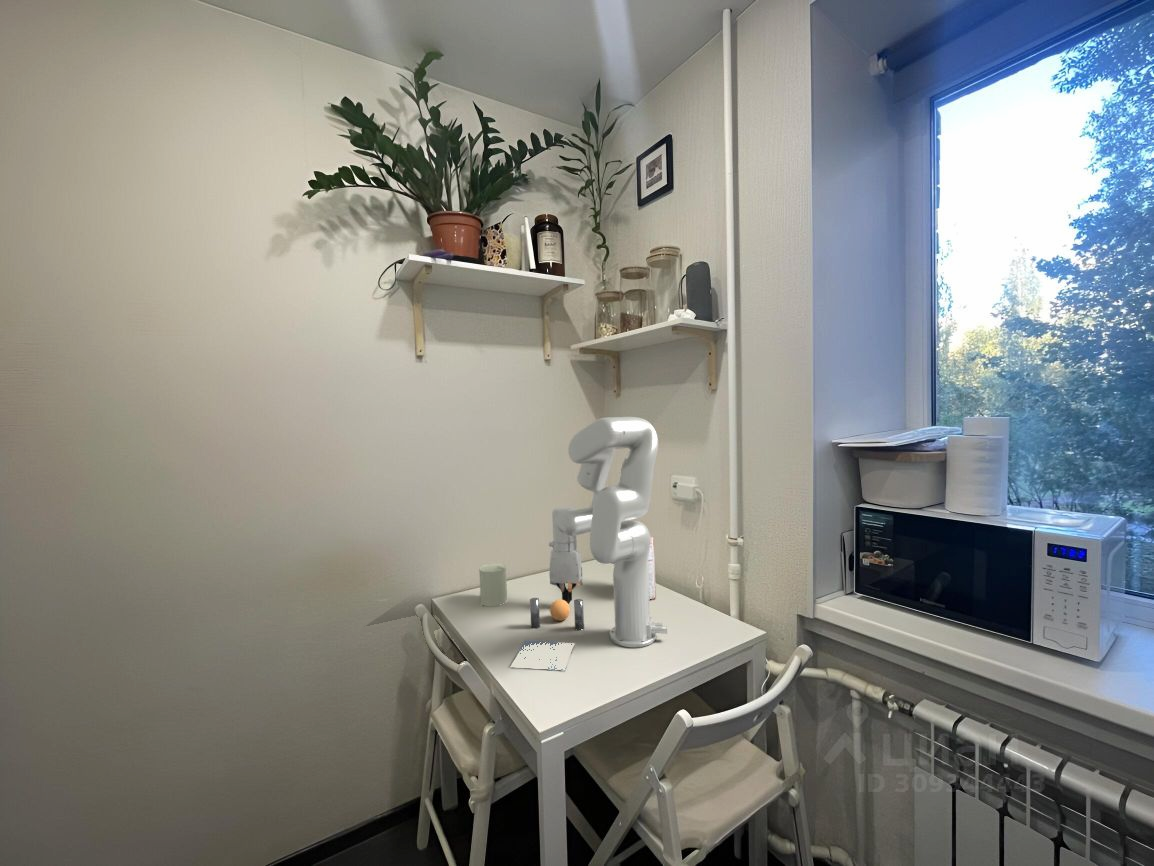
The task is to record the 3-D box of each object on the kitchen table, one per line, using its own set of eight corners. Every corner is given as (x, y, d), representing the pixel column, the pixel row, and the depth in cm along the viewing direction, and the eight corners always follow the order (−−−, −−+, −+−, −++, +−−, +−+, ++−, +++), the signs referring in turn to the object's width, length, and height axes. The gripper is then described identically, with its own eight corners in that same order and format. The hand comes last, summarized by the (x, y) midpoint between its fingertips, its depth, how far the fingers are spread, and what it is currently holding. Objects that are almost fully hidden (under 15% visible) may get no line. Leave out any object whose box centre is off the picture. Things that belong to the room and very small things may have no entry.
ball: (567, 615, 132) (568, 625, 136) (570, 596, 136) (572, 606, 140) (547, 613, 133) (549, 623, 137) (551, 594, 137) (553, 604, 141)
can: (502, 607, 148) (500, 570, 148) (475, 606, 150) (474, 570, 150) (511, 596, 157) (510, 562, 157) (486, 595, 159) (485, 561, 159)
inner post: (584, 626, 131) (583, 599, 131) (583, 630, 129) (582, 602, 129) (575, 626, 132) (574, 598, 132) (574, 630, 129) (573, 602, 129)
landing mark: (575, 643, 121) (575, 642, 121) (565, 671, 107) (565, 670, 107) (525, 641, 124) (525, 640, 124) (508, 668, 110) (508, 667, 110)
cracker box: (620, 589, 160) (617, 530, 160) (634, 586, 163) (632, 528, 162) (641, 602, 147) (638, 538, 147) (656, 599, 150) (654, 536, 150)
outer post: (540, 624, 133) (539, 597, 133) (538, 628, 131) (537, 601, 131) (532, 624, 134) (531, 597, 134) (529, 628, 131) (528, 601, 131)
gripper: (539, 548, 143) (541, 606, 144) (586, 549, 141) (588, 608, 141) (545, 542, 151) (547, 597, 151) (589, 543, 148) (591, 598, 148)
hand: (567, 602), depth 146 cm, fingers closed
